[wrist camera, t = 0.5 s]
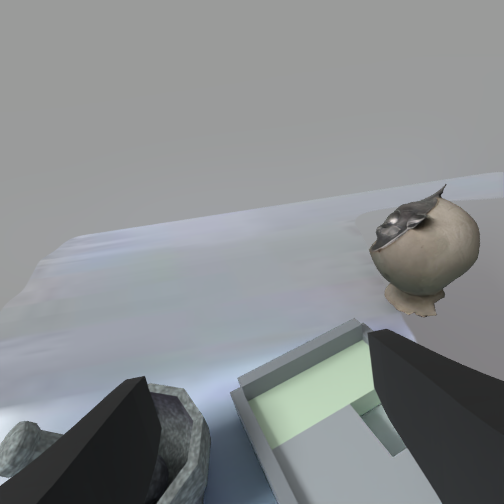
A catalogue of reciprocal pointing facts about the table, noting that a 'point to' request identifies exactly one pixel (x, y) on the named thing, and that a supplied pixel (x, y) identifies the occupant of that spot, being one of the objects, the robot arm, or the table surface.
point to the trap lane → (325, 426)
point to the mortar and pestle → (169, 454)
